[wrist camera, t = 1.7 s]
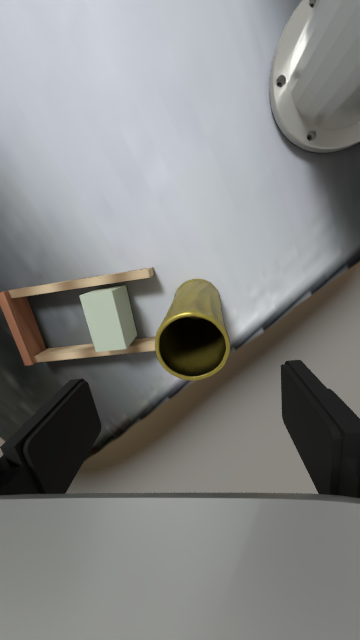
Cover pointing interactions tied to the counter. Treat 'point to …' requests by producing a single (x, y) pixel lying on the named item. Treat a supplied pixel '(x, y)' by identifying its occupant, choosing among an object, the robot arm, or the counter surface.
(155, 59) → the counter surface
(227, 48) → the counter surface
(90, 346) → the track
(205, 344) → the vase
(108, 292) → the block
